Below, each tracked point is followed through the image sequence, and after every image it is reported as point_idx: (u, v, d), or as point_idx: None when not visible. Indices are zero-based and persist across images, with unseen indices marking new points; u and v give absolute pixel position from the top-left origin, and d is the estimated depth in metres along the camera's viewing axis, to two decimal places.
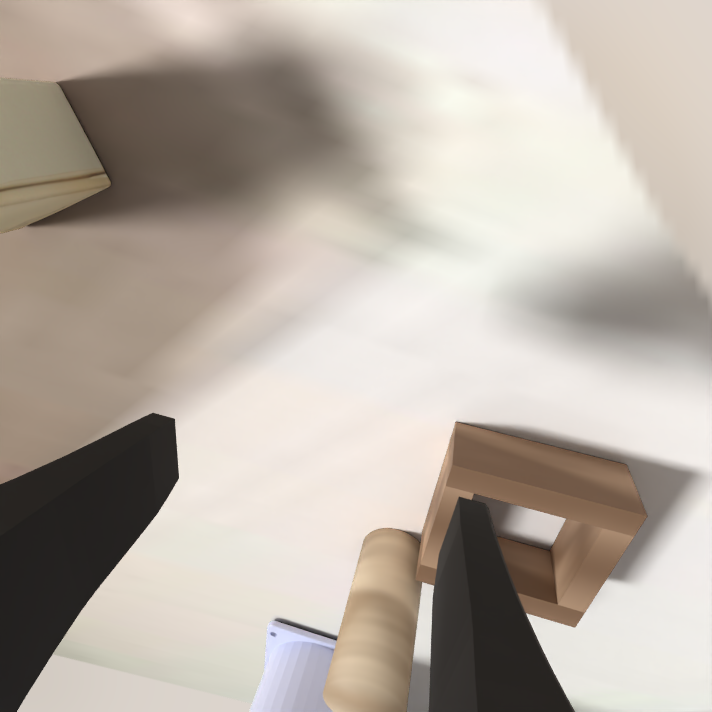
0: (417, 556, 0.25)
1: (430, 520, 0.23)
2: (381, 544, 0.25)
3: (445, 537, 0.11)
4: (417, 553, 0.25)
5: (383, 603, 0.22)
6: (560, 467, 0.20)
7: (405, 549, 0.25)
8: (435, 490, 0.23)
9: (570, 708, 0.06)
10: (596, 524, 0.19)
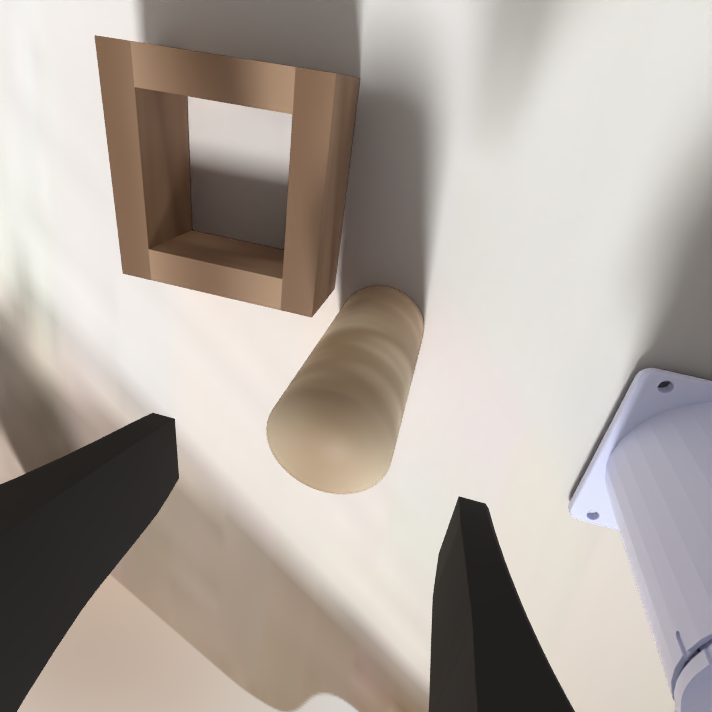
0: (349, 301, 0.19)
1: None
2: None
3: (445, 537, 0.11)
4: (350, 299, 0.19)
5: None
6: None
7: None
8: None
9: (570, 708, 0.06)
10: (131, 97, 0.15)
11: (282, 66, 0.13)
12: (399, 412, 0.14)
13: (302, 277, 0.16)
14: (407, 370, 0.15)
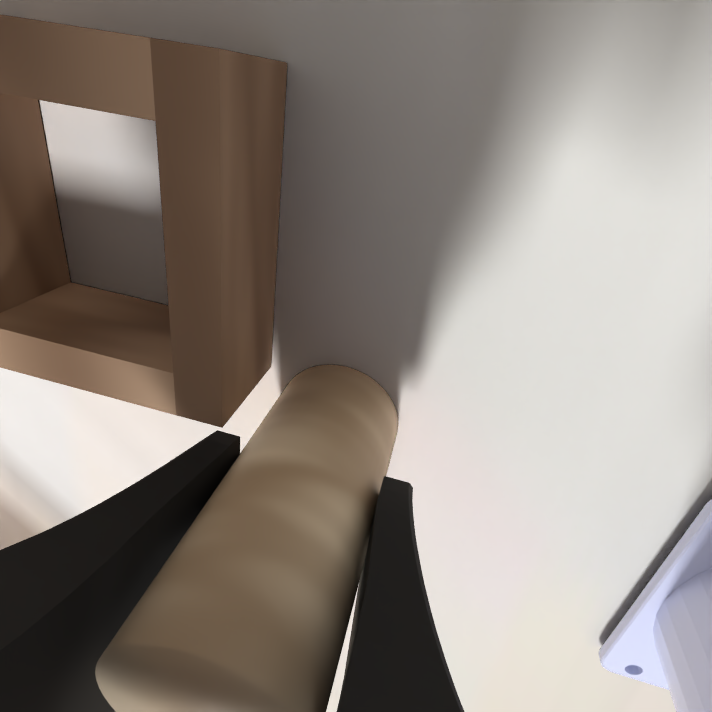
0: (288, 389, 0.13)
1: None
2: None
3: None
4: (290, 386, 0.13)
5: None
6: None
7: None
8: None
9: (443, 667, 0.07)
10: None
11: (127, 37, 0.08)
12: (337, 638, 0.08)
13: (202, 372, 0.10)
14: (360, 530, 0.10)
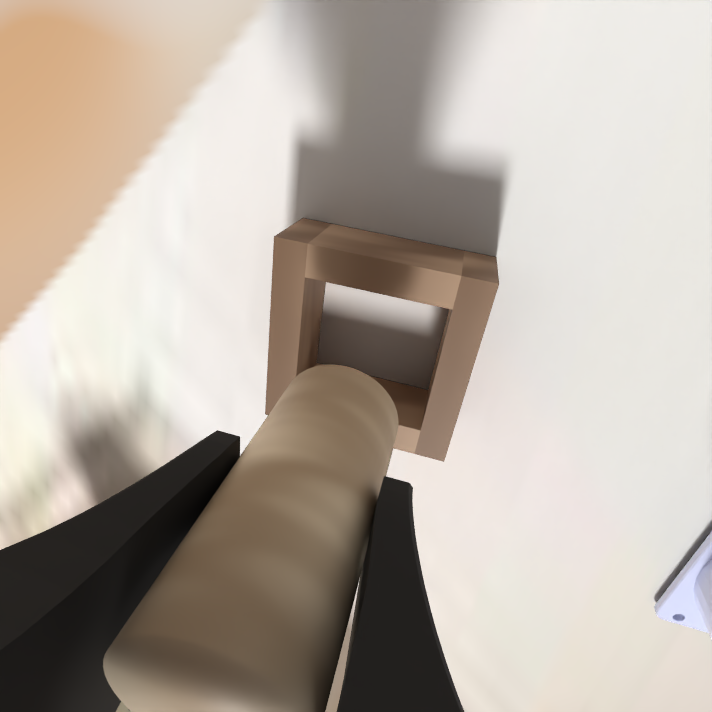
0: (288, 390, 0.13)
1: None
2: None
3: None
4: (290, 387, 0.13)
5: None
6: None
7: None
8: None
9: (443, 667, 0.07)
10: (300, 284, 0.16)
11: (449, 274, 0.15)
12: (337, 628, 0.08)
13: (440, 430, 0.18)
14: (360, 524, 0.10)
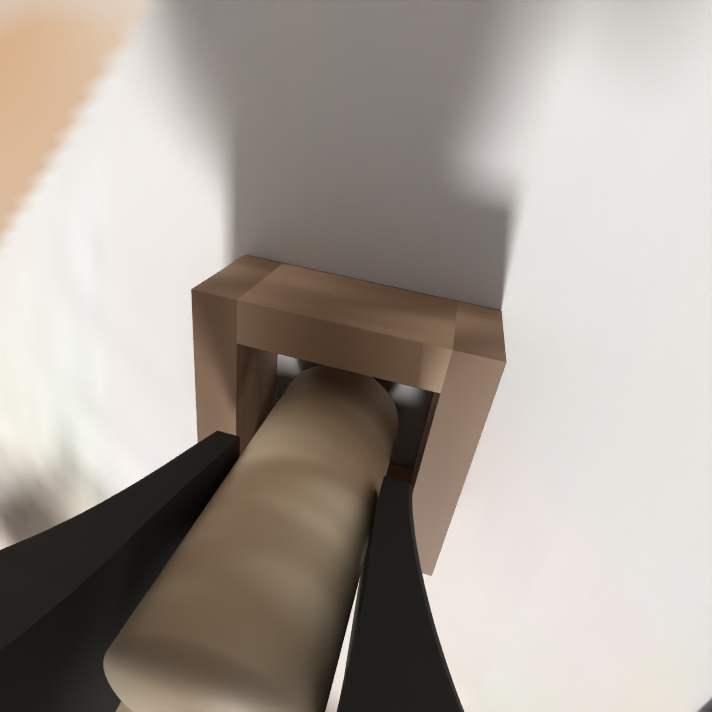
0: (288, 390, 0.13)
1: None
2: None
3: None
4: (290, 387, 0.13)
5: None
6: None
7: None
8: None
9: (443, 667, 0.07)
10: (232, 352, 0.12)
11: (435, 347, 0.11)
12: (337, 627, 0.08)
13: (426, 540, 0.13)
14: (360, 523, 0.10)
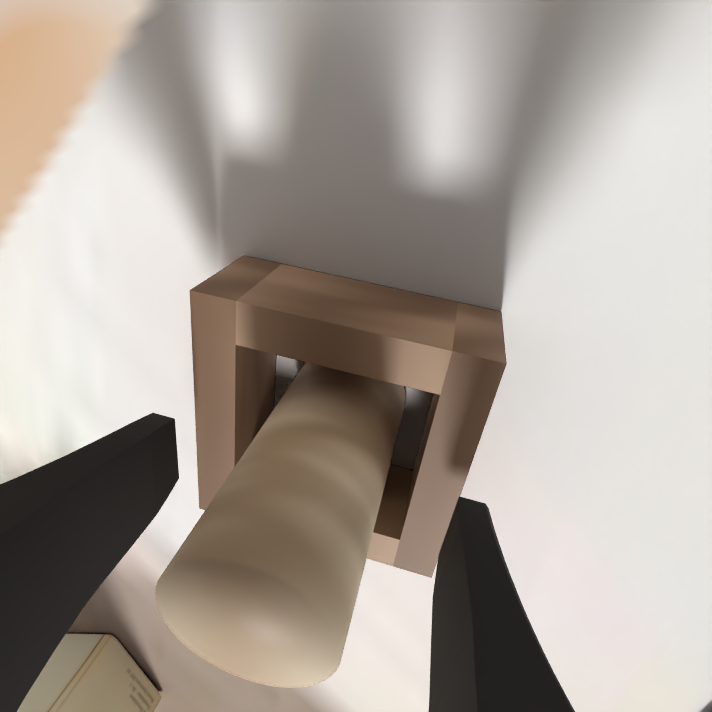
0: (304, 367, 0.14)
1: None
2: None
3: (445, 537, 0.11)
4: (306, 365, 0.14)
5: None
6: None
7: None
8: None
9: (570, 708, 0.06)
10: (230, 353, 0.12)
11: (434, 348, 0.11)
12: (357, 563, 0.09)
13: (425, 542, 0.13)
14: (374, 480, 0.11)
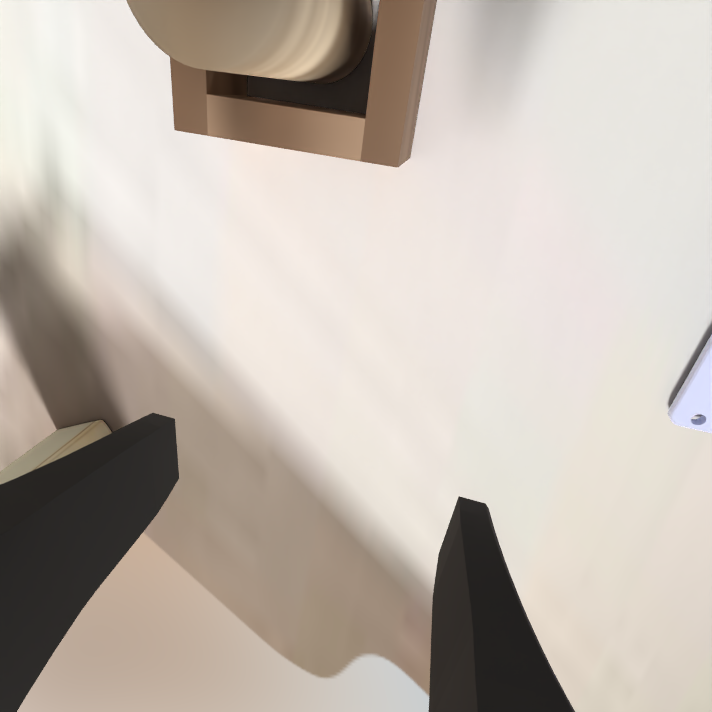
0: None
1: None
2: None
3: (445, 537, 0.11)
4: None
5: None
6: None
7: None
8: None
9: (570, 708, 0.06)
10: None
11: None
12: None
13: (390, 114, 0.14)
14: None
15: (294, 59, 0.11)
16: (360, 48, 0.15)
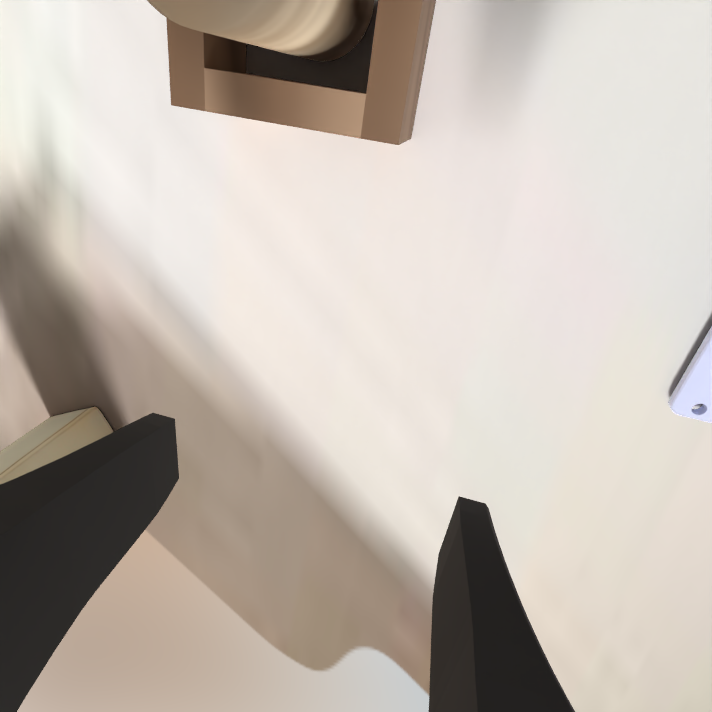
0: None
1: None
2: None
3: (445, 537, 0.11)
4: None
5: None
6: None
7: None
8: None
9: (570, 708, 0.06)
10: None
11: None
12: None
13: (391, 89, 0.14)
14: None
15: (294, 26, 0.11)
16: (361, 23, 0.15)
